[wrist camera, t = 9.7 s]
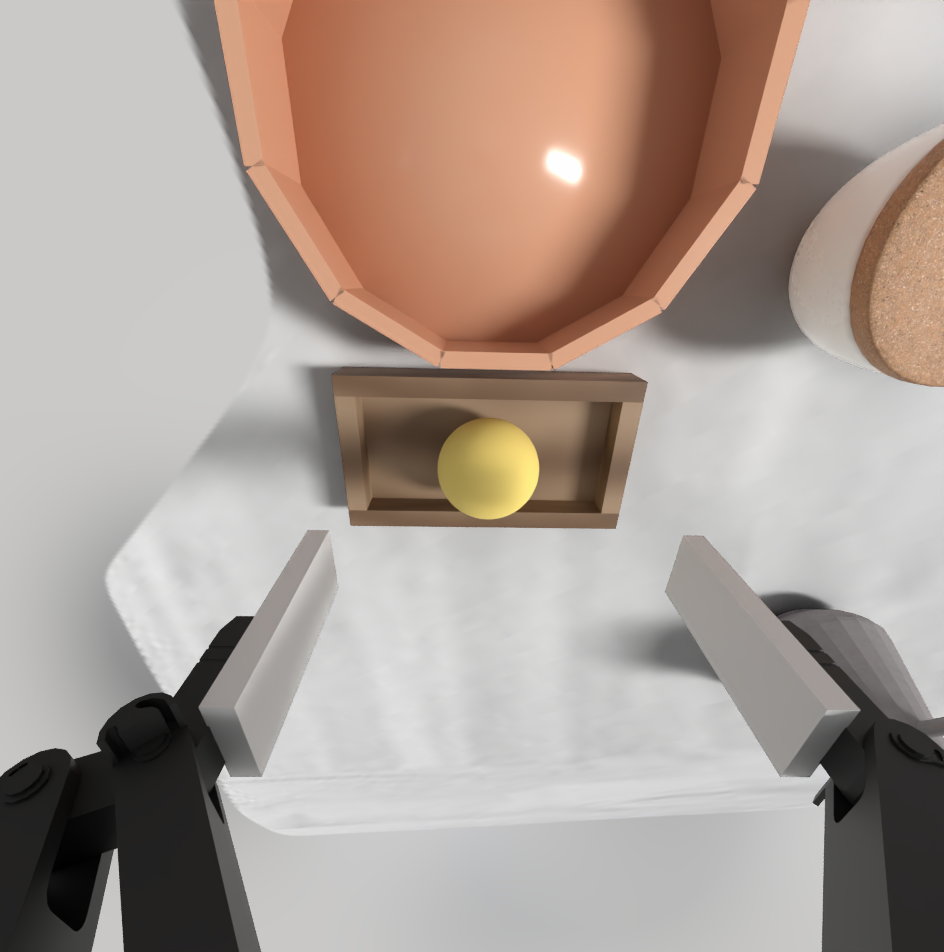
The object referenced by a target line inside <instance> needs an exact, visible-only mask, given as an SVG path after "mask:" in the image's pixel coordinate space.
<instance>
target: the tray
mask: <svg viewBox="0 0 944 952" xmlns="http://www.w3.org/2000/svg"><path fill="white" fill-rule="evenodd" d="M331 377H332V385H333V393H334V400H335V408H336V416H337V424H338V432H339V439H340V447H341V455H342V463H343V470H344V478H345V486H346V494H347V502H348V509H349V517H350V525H351V526H428V527H514V528H599V529H616V525H617V520H618V516H619V511H620V507H621V502H622V498H623V493H624V488H625V484H626V479H627V475H628V470H629V466H630V461H631V456H632V452H633V447H634V443H635V438H636V433H637V429H638V424H639V420H640V415H641V411H642V406H643V401H644V397H645V392H646V388H647V383H648V382H646V381H645V380H643V379H641V378H639V377H637V376H635V375H634V374H632V373H597V372H553V371H508V370H463V369H418V368H374V367H342V368H341V369H340V370H338V371H337V372H335V373H334V374H332V375H331ZM480 418H497V419H502V420H505V421H508V422H510V423H512V424H514V425H515V426H517V427H518V428H520V429H521V430H522V431H523V432H524V433H525V434H526V435H527V436H528V437H529V439H530V440H531V442H532V443H533V445H534V447H535V449H536V452H537V456H538V460H539V477H538V482H537V485H536V488H535V490H534V492H533V494H532V496H531V497H530V499H529V500H528V501H527V502H526V503H525V504H524V505H523V506H522V507H521V508H520V509H519V510H517V511H516V512H514V513H512V514H510V515H508V516H505V517H502V518H498V519H479V518H474V517H471V516H469V515H466V514H464V513H463V512H461V511H460V510H458V509H457V508H456V507H454V506H453V505H452V504H451V503H450V501H449V500H448V499H447V497H446V496H445V494H444V493H443V491H442V488H441V486H440V483H439V479H438V471H437V469H438V459H439V455H440V452H441V449H442V447H443V445H444V443H445V441H446V440H447V438H448V437H449V436H450V435H451V434H452V433H453V432H454V431H455V430H456V429H457V428H458V427H460V426H461V425H463V424H465V423H467V422H469V421H472V420H475V419H480Z"/></svg>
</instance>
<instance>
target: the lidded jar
mask: <svg viewBox="0 0 944 952" xmlns="http://www.w3.org/2000/svg"><path fill="white" fill-rule="evenodd" d="M789 300H790V306H791V309H792V312H793V315H794V318H795V321H796V322H797V324H798V326H799V328H800V329H801V331H802V332H803V333H804V334H805V335H806V336H807V337H808V338H809V339H810V340H811V342H812V343H813V344H814V345H816V346H817V347H819V348H820V349H821V350H823V351H824V352H826V353H828V354H830V355H831V356H833V357H835V358H837V359H839V360H842V361H844V362H847V363H850V364H852V365H855V366H857V367H860V368H862V369H866V370H870V371H873V372H877V373H882V374H886V375H888V376H891V377H893V378H896V379H898V380H901V381H905V382H909V383H914V384H920V385H926V386H935V387H944V123H943V124H941V125H939V126H936V127H934V128H932V129H930V130H928V131H926V132H924V133H922V134H920V135H918V136H916V137H914V138H912V139H910V140H908V141H906V142H904V143H903V144H901V145H899V146H898V147H896V148H894V149H892V150H891V151H889V152H887V153H886V154H884V155H883V156H881V157H880V158H878V159H877V160H875V161H874V162H872V163H871V164H869V165H868V166H867V167H865V168H864V169H863V170H862V171H860V172H859V173H858V174H857V175H855V176H854V177H853V178H852V179H851V180H850V181H848V182H847V183H846V184H845V185H844V186H843V187H841V188H840V189H839V190H838V191H837V193H836V194H835V195H834V196H833V197H832V198H831V199H830V200H829V201H828V202H827V203H826V205H825V206H824V207H823V208H822V209H821V211H820V212H819V213H818V215H817V216H816V217H815V219H814V220H813V221H812V223H811V224H810V226H809V228H808V229H807V231H806V233H805V234H804V236H803V238H802V240H801V242H800V244H799V247H798V249H797V251H796V254H795V257H794V260H793V263H792V266H791V272H790V277H789Z"/></svg>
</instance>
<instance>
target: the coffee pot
mask: <svg viewBox="0 0 944 952" xmlns="http://www.w3.org/2000/svg"><path fill="white" fill-rule="evenodd" d="M776 617H777V618H778V619H779V620H782V621H791V622H792V623H793V624H795V625H796V626H798V627H799V628H801V629H802V630H803V631H805V632H806V633H808V634H809V635H810V636H811V637H812V638H813V639H814V640H815V641H816V642H817V643H818V645H819V646H820V647H821V648H822V649H823V651H824V653H827V654H828V655H829V656H830V657H831V658H832V659H833V660H834V661H835V663H836V666H839V667H840V668H841V669H842V670H843V671H844V672H845V673H846V674H847V675H848V676H849V677H850V678H851V679H852V680H853V682H854V683H855V684H856V685H857V686H858V687H859V688H860V689H861V690H862V691H863V692H864V693H865V694H866V695H867V696H868V697H869V698H870V699H871V701H872V702H873V703H874V704H875V705H876V706H877V707H878V708H879V709H880V710H881V711H882V712H883V713H884V714H885V715H886V716H887V717H888V718H889V719H896V720H898V721H901V722H904V723H906V724H909V725H911V726H912V727H914V728H916V729H918V730H919V731H921V732H923V733H924V734H926V735H927V736H928V737H929V738H931V739H932V740H933V741H934V742H936V743H937V744H938V745H939V746H940V747H941V748H942V749H944V738H943V736H944V717H941V718H935V719H933V717H932V715H931V713H930V711H929V710H928V708H927V706H926V704H925V702H924V700H923V698H922V696H921V694H920V693H919V691H918V689H917V687H916V685H915V683H914V681H913V679H912V678H911V676H910V674H909V672H908V670H907V668H906V666H905V664H904V663H903V661H902V659H901V657H900V655H899V653H898V651H897V649H896V648H895V646H894V644H893V642H892V640H891V639H890V637H889V636H888V634H887V633H886V631H885V630H884V629H883V628H882V627H880V626H879V625H877V624H875V623H874V622H872V621H871V620H869V619H867V618H864V617H862V616H859V615H856V614H853V613H849V612H845V611H841V610H818V609H798V610H793V611H789V612H786V613H783V614H780V615H778V616H776Z"/></svg>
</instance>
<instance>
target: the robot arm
mask: <svg viewBox="0 0 944 952" xmlns="http://www.w3.org/2000/svg"><path fill="white" fill-rule="evenodd" d="M337 590H338V582H337V576H336V570H335V564H334V558H333V552H332V546H331V540H330V534H329V531H327V530H308V531H307V532H306V534H305V536H304V537H303V539H302V540H301V542H300V544H299V545H298V547H297V548H296V550H295V552H294V553H293V555H292V557H291V558H290V560H289V561H288V563H287V565H286V566H285V568H284V570H283V571H282V573H281V574H280V576H279V578H278V579H277V581H276V582H275V584H274V586H273V587H272V589H271V591H270V592H269V594H268V595H267V597H266V599H265V600H264V602H263V603H262V605H261V607H260V608H259V610H258V612H257V613H256V615H255V616H236V617H235V618H234V619H233V620H231V621H230V622H229V623H228V624H227V625H225V626H224V627H223V628H222V629H221V630H220V631H219V632H218V634H217V635H216V637H215V638H214V639H213V641H212V642H211V644H210V645H209V649H207V650H206V651H205V652H204V654H203V655H202V657H201V658H200V662H199V663H197V664H196V665H195V667H194V668H193V670H192V671H191V673H190V674H189V676H188V677H187V679H186V680H185V681H184V683H183V684H182V686H181V687H180V689H179V690H178V692H177V693H176V694H175V696H174V697H172V696H171V695H168V694H165V693H152V694H148V695H145V696H142V697H139V698H137V699H135V700H133V701H131V702H130V703H128V704H126V705H125V706H123V707H121V708H120V709H119V710H118V711H117V712H116V713H115V714H114V715H112V716H111V717H110V718H109V719H108V720H107V722H106V723H105V725H104V726H103V728H102V729H101V730H100V732H99V736H98V740H97V745H98V747H99V748H100V749H101V751H100V752H97V753H94V754H90V755H87V756H83V757H80V758H76V759H73V758H72V757H71V756H70V755H69V753H68V752H67V751H66V750H63V749H56V748H54V749H50V750H45V751H41V752H38V753H36V754H34V755H32V756H30V757H28V758H26V759H23V760H22V761H20V762H19V763H18V764H16V765H15V766H13V767H12V768H10V769H9V770H7V771H6V772H5V773H4V774H3V775H2V776H1V777H0V952H91V951H92V946H93V942H94V938H95V933H96V929H97V924H98V919H99V914H100V910H101V906H102V901H103V896H104V892H105V887H106V883H107V878H108V874H109V869H110V864H111V860H112V855H113V851H114V849H116V848H118V862H119V879H120V894H121V911H122V927H123V943H124V952H261V950H260V946H259V942H258V938H257V934H256V931H255V927H254V923H253V919H252V915H251V911H250V907H249V904H248V900H247V896H246V892H245V889H244V885H243V881H242V877H241V873H240V869H239V865H238V861H237V858H236V854H235V850H234V846H233V842H232V838H231V835H230V831H229V827H228V823H227V819H226V815H225V812H224V808H223V804H222V800H221V796H220V792H219V789H218V786H217V784H216V780H217V778H218V776H219V774H220V772H221V770H222V768H223V766H224V764H225V766H226V768H227V770H228V772H229V775H230V777H262V775H263V772H264V770H265V767H266V765H267V762H268V760H269V757H270V755H271V752H272V750H273V748H274V745H275V743H276V740H277V738H278V735H279V733H280V730H281V728H282V725H283V723H284V721H285V718H286V716H287V713H288V711H289V708H290V706H291V703H292V701H293V698H294V696H295V694H296V691H297V689H298V686H299V684H300V681H301V679H302V676H303V674H304V671H305V669H306V667H307V664H308V662H309V659H310V657H311V654H312V652H313V649H314V647H315V644H316V642H317V640H318V637H319V635H320V632H321V630H322V627H323V625H324V622H325V620H326V617H327V615H328V613H329V610H330V608H331V605H332V603H333V600H334V598H335V595H336V593H337ZM665 592H666V594H667V596H668V597H669V599H670V600H671V602H672V604H673V605H674V607H675V608H676V610H677V612H678V613H679V615H680V616H681V618H682V620H683V621H684V623H685V624H686V626H687V628H688V629H689V631H690V632H691V634H692V636H693V637H694V639H695V641H696V642H697V644H698V645H699V647H700V649H701V650H702V652H703V653H704V655H705V657H706V658H707V660H708V661H709V663H710V665H711V666H712V668H713V669H714V671H715V673H716V674H717V676H718V677H719V679H720V681H721V682H722V684H723V686H724V687H725V689H726V690H727V692H728V694H729V695H730V697H731V698H732V700H733V702H734V703H735V705H736V706H737V708H738V710H739V711H740V713H741V714H742V716H743V718H744V719H745V721H746V722H747V724H748V726H749V727H750V729H751V731H752V732H753V734H754V735H755V737H756V739H757V740H758V742H759V743H760V745H761V747H762V748H763V750H764V751H765V753H766V755H767V756H768V758H769V759H770V761H771V763H772V764H773V766H774V768H775V769H776V771H777V772H778V774H779V776H780V777H810V776H811V775H812V774H813V772H814V771H815V770H816V768H817V767H818V766H819V764H821V765H822V766H823V768H824V769H825V770H826V772H827V773H828V775H829V776H830V778H829V780H828V781H827V782H826V783H825V785H824V786H823V787H822V788H821V790H820V791H819V792H818V793H817V795H816V796H815V798H814V801H813V803H814V804H815V805H817V806H819V805H820V803H821V802H822V801H823V800H824V799H825V835H824V881H823V927H822V952H944V749H942V748H941V747H940V746H939V745H938V744H937V743H936V742H934V741H933V740H932V739H931V738H929V737H928V736H927V735H926V734H924V733H923V732H921V731H919V730H918V729H916V728H914V727H912V726H911V725H909V724H906V723H904V722H901V721H898V720H896V719H889V718H888V717H887V716H886V715H885V714H884V713H883V712H882V711H881V710H880V709H879V708H878V707H877V706H876V705H875V704H874V703H873V702H872V701H871V699H870V698H869V697H868V696H867V695H866V694H865V693H864V692H863V691H862V690H861V689H860V688H859V687H858V686H857V685H856V684H855V683H854V682H853V680H852V679H851V678H850V677H849V676H848V675H847V674H846V673H845V672H844V671H843V670H842V669H841V668H840V667H839V666H836V663H835V661H834V660H833V659H832V658H831V657H830V656H829V655H828V654H827V653H824V651H823V649H822V648H821V647H820V646H819V645H818V643H817V642H816V641H815V640H814V639H813V638H812V637H811V636H810V635H809V634H808V633H806V632H805V631H803V630H802V629H801V628H799V627H798V626H796V625H795V624H793V623H792V622H791V621H782V620H779V619H778V618H777V617H776V616H775V615H774V614H773V612H772V611H771V610H770V609H769V608H768V607H767V606H766V605H765V604H764V602H763V601H762V600H761V599H760V598H759V597H758V596H757V595H756V594H755V592H754V591H753V590H752V589H751V588H750V587H749V586H748V585H747V584H746V582H745V581H744V580H743V579H742V578H741V577H740V576H739V575H738V574H737V572H736V571H735V570H734V569H733V568H732V567H731V566H730V565H729V564H728V562H727V561H726V560H725V559H724V558H723V557H722V556H721V555H720V554H719V552H718V551H717V550H716V549H715V548H714V547H713V546H712V545H711V544H710V542H709V541H708V540H707V539H706V538H705V537H704V536H683V538H682V541H681V544H680V547H679V550H678V553H677V556H676V560H675V563H674V566H673V569H672V572H671V575H670V578H669V581H668V584H667V587H666V590H665Z"/></svg>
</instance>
